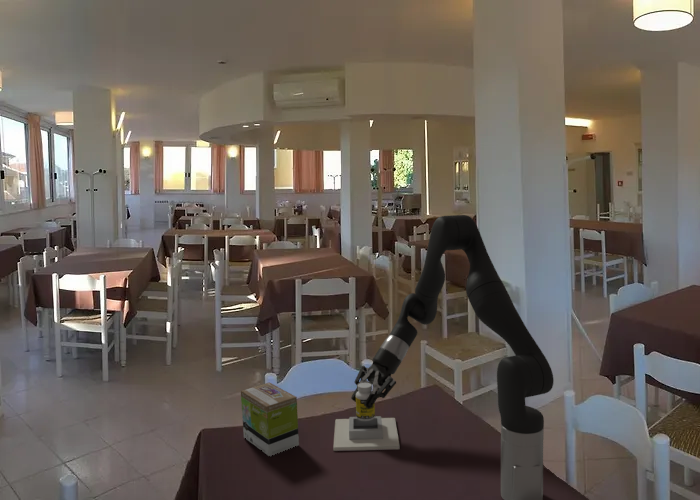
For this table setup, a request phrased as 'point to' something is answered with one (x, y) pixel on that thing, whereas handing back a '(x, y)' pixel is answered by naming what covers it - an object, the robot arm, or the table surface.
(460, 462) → the table surface
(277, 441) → the tea box
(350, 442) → the socket dock
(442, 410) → the table surface
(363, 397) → the supplement bottle
